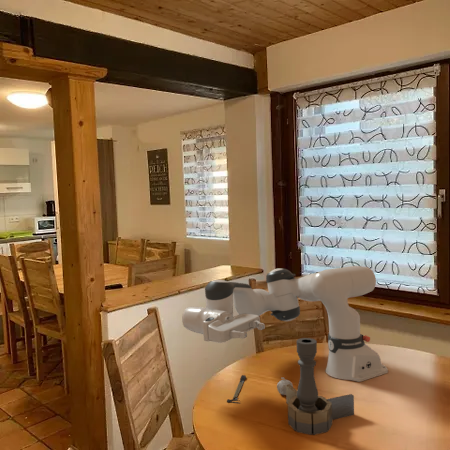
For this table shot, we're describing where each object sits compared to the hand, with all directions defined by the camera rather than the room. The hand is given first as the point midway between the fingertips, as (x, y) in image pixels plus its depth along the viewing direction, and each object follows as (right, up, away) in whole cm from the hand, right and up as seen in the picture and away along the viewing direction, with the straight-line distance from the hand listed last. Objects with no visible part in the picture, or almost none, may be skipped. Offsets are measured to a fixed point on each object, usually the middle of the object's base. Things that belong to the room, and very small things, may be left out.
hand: (254, 331), depth 145 cm
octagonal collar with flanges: (+18, -24, -3) cm, 31 cm away
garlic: (+11, -24, +12) cm, 29 cm away
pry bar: (-3, -24, +16) cm, 29 cm away
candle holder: (+15, -25, -10) cm, 31 cm away
